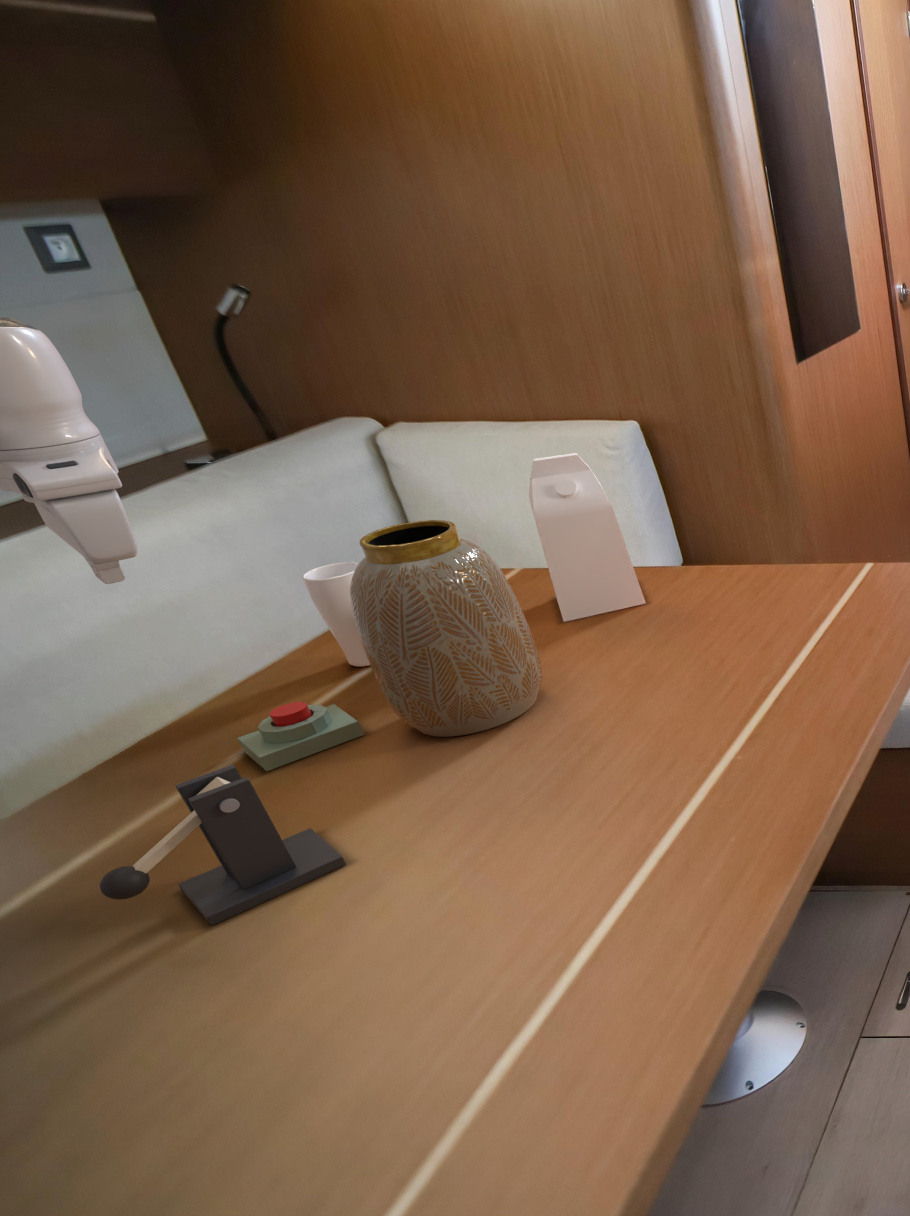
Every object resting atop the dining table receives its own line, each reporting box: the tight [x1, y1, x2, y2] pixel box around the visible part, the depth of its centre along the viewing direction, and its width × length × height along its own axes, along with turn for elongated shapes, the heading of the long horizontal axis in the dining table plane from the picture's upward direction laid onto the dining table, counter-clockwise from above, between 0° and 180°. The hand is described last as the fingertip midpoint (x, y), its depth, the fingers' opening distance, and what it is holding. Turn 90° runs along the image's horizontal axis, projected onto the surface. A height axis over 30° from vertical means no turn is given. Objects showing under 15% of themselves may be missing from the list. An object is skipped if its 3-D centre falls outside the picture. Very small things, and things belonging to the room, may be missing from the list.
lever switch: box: [99, 777, 231, 900], centre depth 96 cm, size 13×3×3 cm, turn 148°
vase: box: [350, 519, 543, 738], centre depth 128 cm, size 17×17×27 cm
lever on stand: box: [175, 764, 347, 926], centre depth 101 cm, size 11×9×13 cm
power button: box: [269, 701, 312, 727], centre depth 124 cm, size 4×4×2 cm
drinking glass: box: [302, 561, 371, 668], centre depth 143 cm, size 7×7×15 cm
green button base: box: [236, 703, 365, 772], centre depth 125 cm, size 10×8×4 cm
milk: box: [528, 452, 647, 623], centre depth 160 cm, size 12×12×26 cm
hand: (112, 579), depth 111 cm, fingers closed
